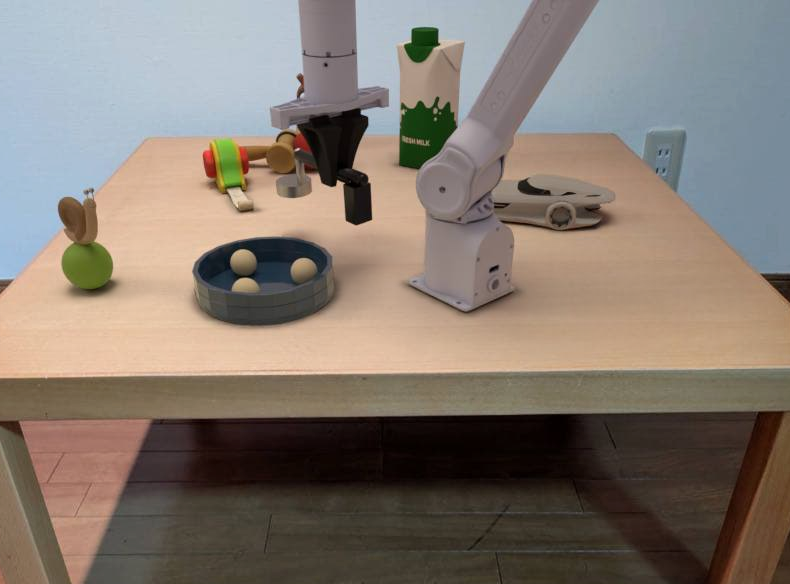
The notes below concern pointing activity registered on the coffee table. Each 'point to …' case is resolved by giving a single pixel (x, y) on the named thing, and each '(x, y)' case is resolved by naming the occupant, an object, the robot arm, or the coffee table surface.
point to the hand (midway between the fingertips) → (335, 182)
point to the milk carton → (427, 94)
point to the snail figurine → (83, 244)
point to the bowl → (263, 281)
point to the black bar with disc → (354, 190)
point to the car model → (550, 201)
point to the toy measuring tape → (228, 170)
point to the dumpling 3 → (303, 270)
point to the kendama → (280, 151)
